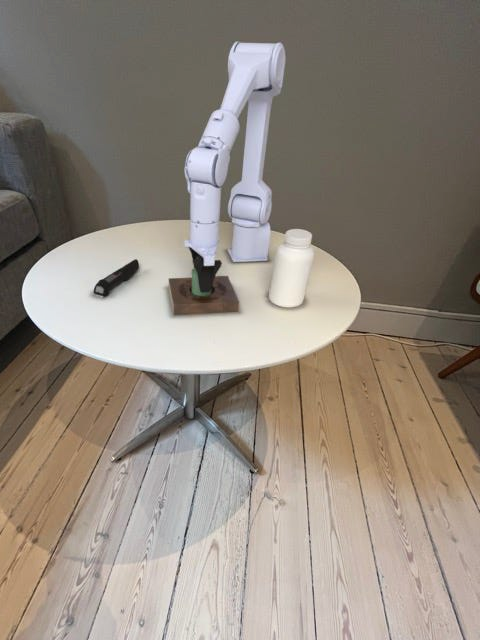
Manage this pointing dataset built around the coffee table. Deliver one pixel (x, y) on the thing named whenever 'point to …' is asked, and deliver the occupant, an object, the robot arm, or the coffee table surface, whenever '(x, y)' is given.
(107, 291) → the electric trimmer
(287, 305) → the pill bottle
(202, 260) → the robot arm
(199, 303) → the brown wooden holder tray
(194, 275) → the bottle
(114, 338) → the coffee table surface
